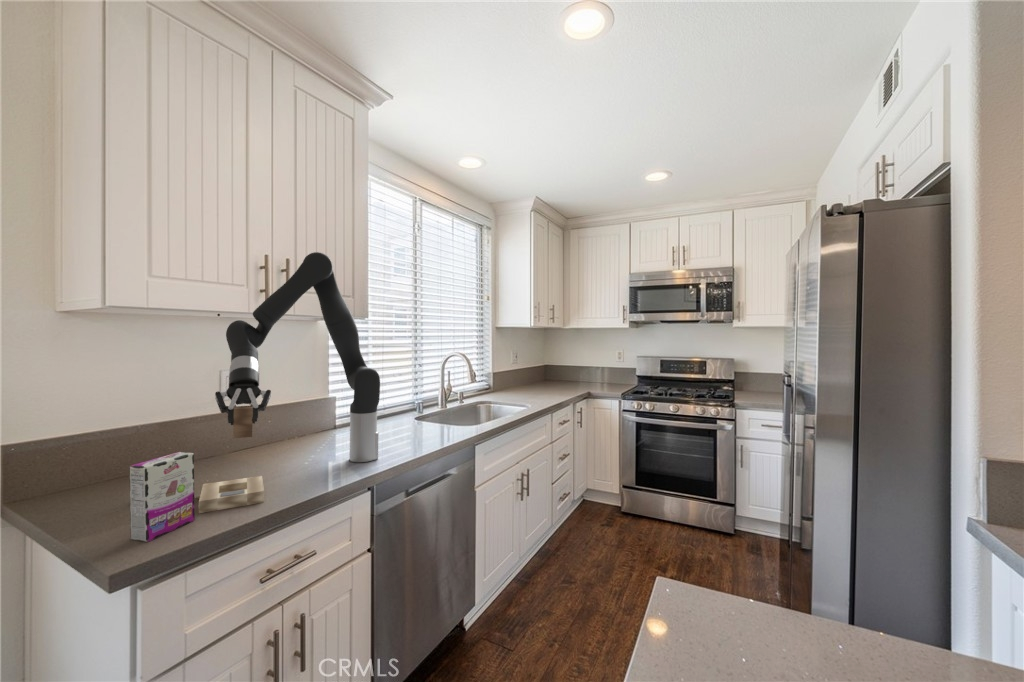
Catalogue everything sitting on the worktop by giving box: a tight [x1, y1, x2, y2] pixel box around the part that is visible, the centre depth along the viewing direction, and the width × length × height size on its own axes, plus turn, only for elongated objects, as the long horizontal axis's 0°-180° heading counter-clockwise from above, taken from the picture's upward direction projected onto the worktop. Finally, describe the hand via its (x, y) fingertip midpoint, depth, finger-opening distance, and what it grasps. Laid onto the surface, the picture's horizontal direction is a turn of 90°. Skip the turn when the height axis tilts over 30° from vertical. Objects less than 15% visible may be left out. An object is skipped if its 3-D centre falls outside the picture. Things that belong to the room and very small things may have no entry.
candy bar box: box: [129, 451, 196, 543], centre depth 96 cm, size 11×5×16 cm, turn 168°
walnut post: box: [232, 405, 253, 439], centre depth 117 cm, size 4×4×8 cm
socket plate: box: [198, 475, 265, 514], centre depth 115 cm, size 14×14×3 cm
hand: (243, 422), depth 116 cm, fingers closed on walnut post, 4 cm apart
